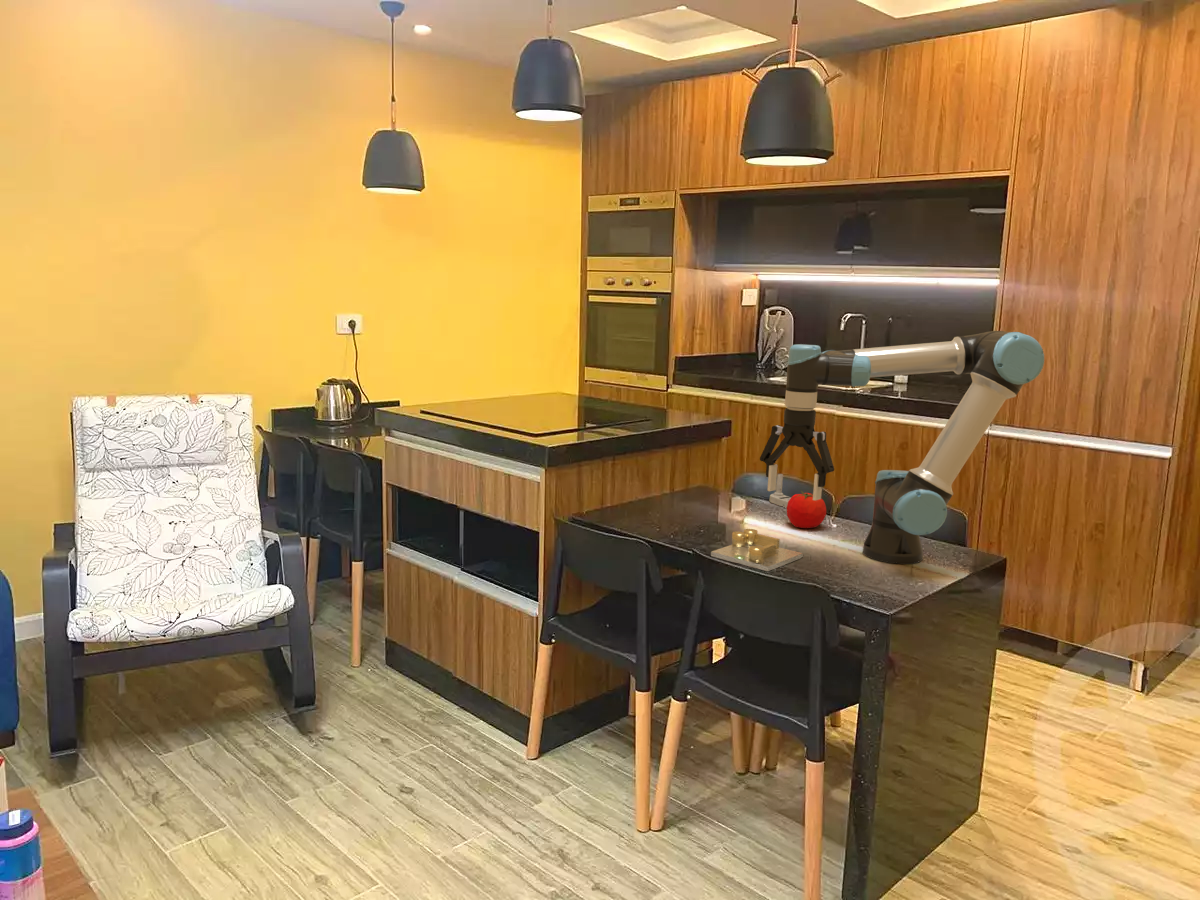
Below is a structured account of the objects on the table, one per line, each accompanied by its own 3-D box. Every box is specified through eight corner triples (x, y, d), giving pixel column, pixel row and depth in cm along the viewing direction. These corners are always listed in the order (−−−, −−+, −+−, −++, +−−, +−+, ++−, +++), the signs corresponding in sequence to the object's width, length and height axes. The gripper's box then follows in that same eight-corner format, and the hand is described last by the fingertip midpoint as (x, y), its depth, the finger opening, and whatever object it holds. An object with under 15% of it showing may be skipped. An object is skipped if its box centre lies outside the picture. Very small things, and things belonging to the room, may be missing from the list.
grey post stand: (801, 483, 279) (768, 473, 292) (798, 513, 281) (765, 502, 294) (813, 482, 282) (780, 472, 295) (810, 512, 284) (777, 500, 296)
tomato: (794, 519, 272) (796, 486, 270) (830, 526, 265) (833, 492, 263) (778, 527, 262) (780, 493, 260) (815, 534, 255) (818, 499, 254)
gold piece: (758, 563, 221) (759, 550, 220) (745, 560, 223) (746, 547, 222) (779, 555, 228) (780, 543, 228) (767, 552, 231) (768, 540, 230)
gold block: (740, 542, 239) (741, 530, 239) (747, 539, 242) (748, 528, 241) (774, 550, 232) (774, 538, 232) (781, 548, 235) (782, 536, 235)
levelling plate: (802, 557, 232) (803, 541, 231) (767, 571, 219) (768, 554, 218) (745, 543, 243) (746, 527, 242) (709, 556, 230) (710, 539, 230)
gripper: (853, 413, 212) (845, 501, 216) (765, 402, 228) (759, 484, 232) (838, 415, 206) (831, 506, 210) (749, 404, 222) (743, 488, 226)
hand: (793, 495), depth 221 cm, fingers open, 12 cm apart
